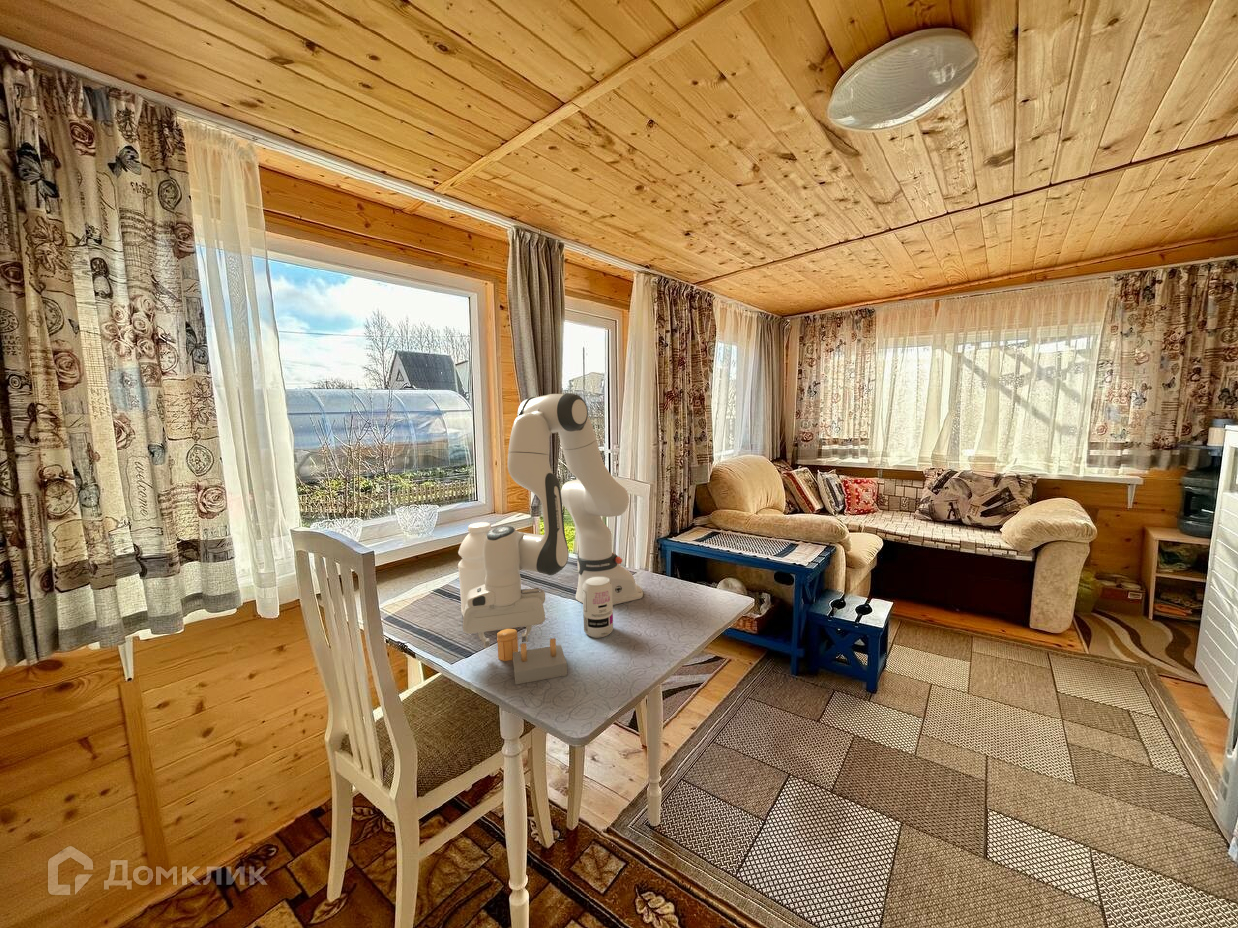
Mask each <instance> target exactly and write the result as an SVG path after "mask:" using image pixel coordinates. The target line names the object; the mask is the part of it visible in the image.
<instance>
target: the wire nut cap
mask: <svg viewBox="0 0 1238 928" xmlns="http://www.w3.org/2000/svg"><path fill="white" fill-rule="evenodd" d="M496 638H497V639H496V642H497V658H498V660H500V661H503V662H507V661H513V652H519V641H518V640H519V639H518V638H519V637H518V631H517V629H515V628H508V629H501V630H500V631H499V630H498V632H497V633H496Z"/></svg>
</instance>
